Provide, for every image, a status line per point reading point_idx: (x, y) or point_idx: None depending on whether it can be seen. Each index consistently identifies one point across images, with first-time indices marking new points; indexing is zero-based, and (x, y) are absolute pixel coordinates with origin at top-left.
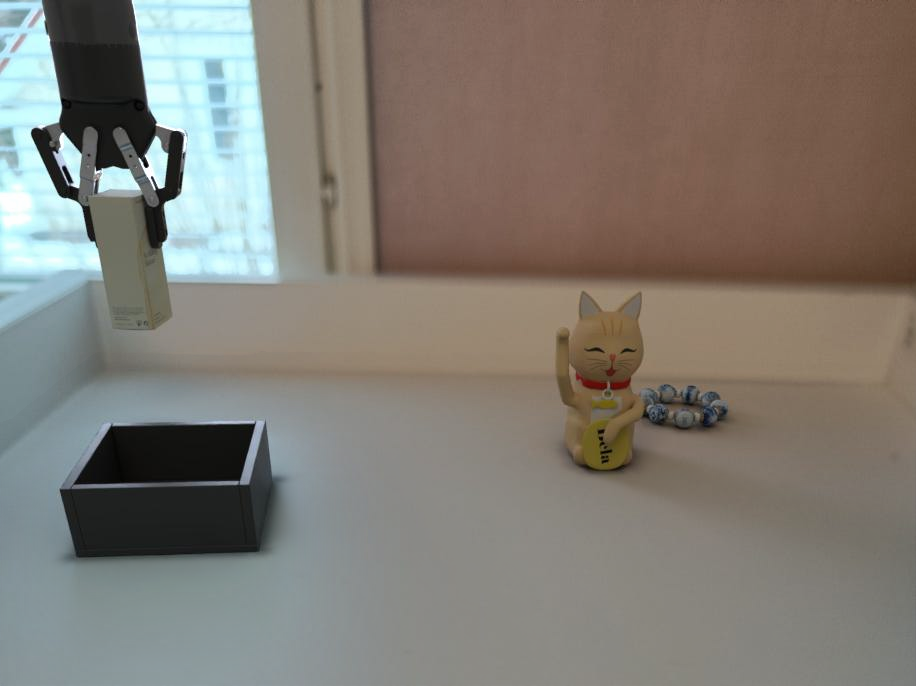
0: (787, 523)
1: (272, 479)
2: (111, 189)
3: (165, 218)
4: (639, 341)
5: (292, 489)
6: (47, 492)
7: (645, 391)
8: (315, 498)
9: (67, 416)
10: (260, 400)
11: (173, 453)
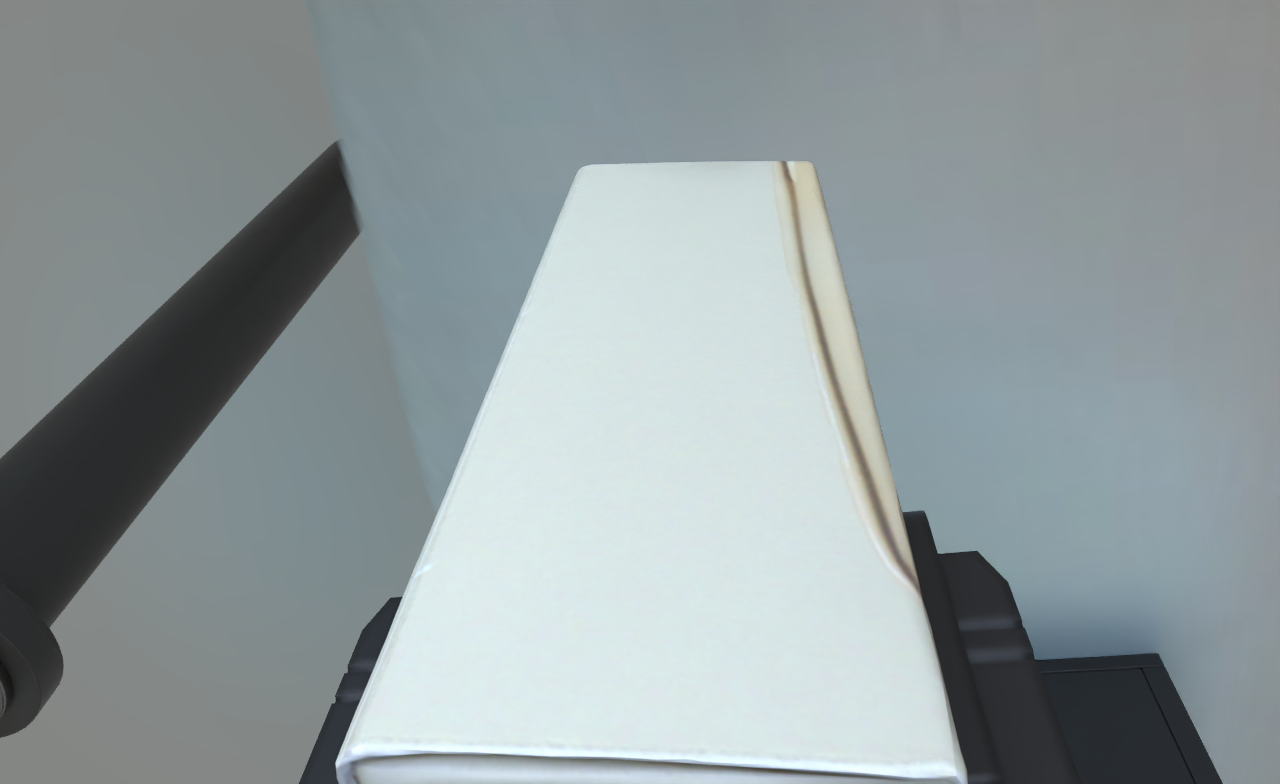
0: None
1: (1159, 656)
2: (355, 771)
3: (1047, 695)
4: None
5: (1205, 684)
6: None
7: None
8: (1256, 715)
9: (436, 303)
10: (1132, 59)
11: None
